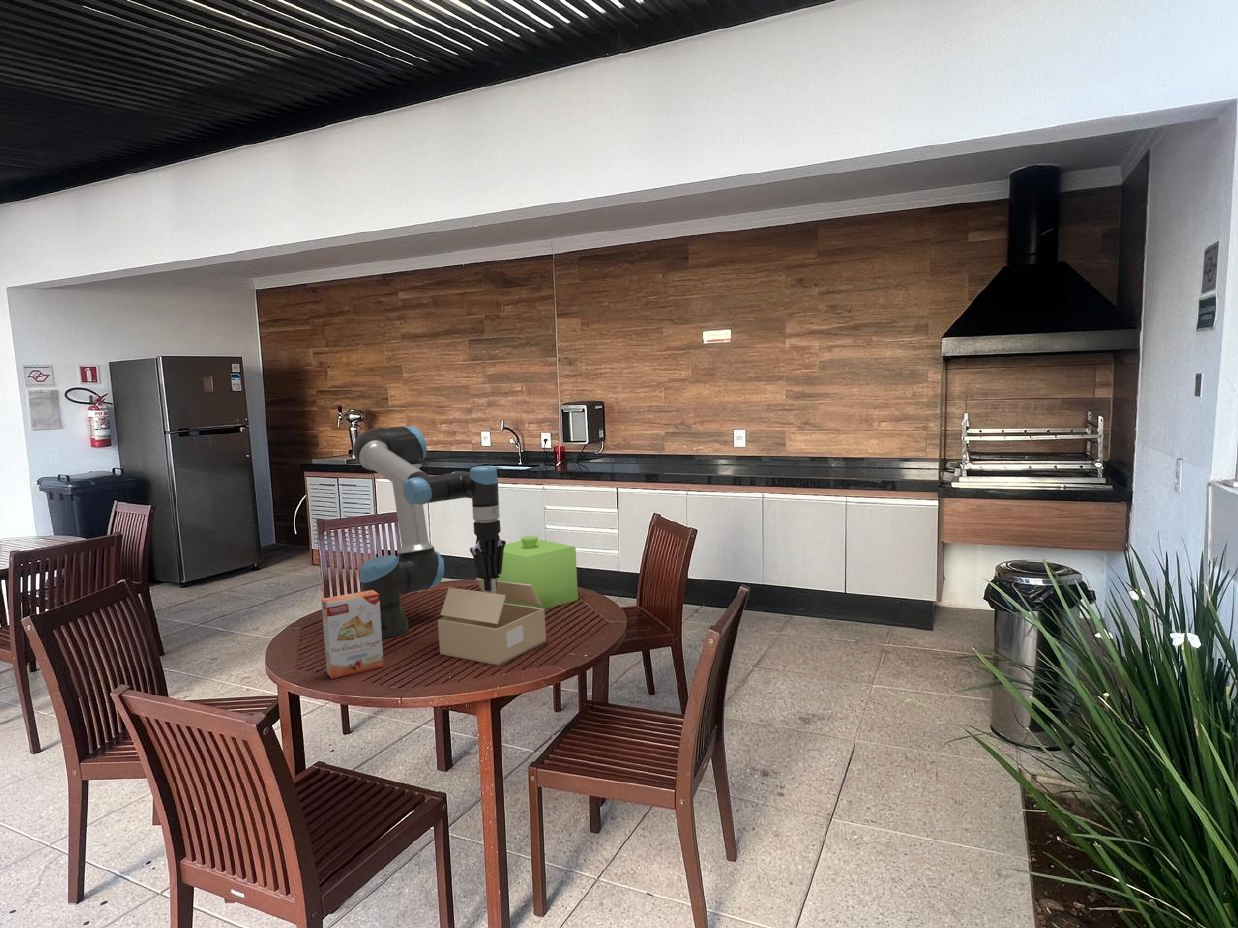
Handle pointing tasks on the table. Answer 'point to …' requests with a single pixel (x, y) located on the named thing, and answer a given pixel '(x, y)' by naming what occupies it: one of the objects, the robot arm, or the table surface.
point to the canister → (542, 570)
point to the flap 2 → (514, 592)
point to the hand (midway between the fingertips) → (491, 600)
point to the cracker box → (352, 633)
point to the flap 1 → (473, 605)
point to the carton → (493, 635)
